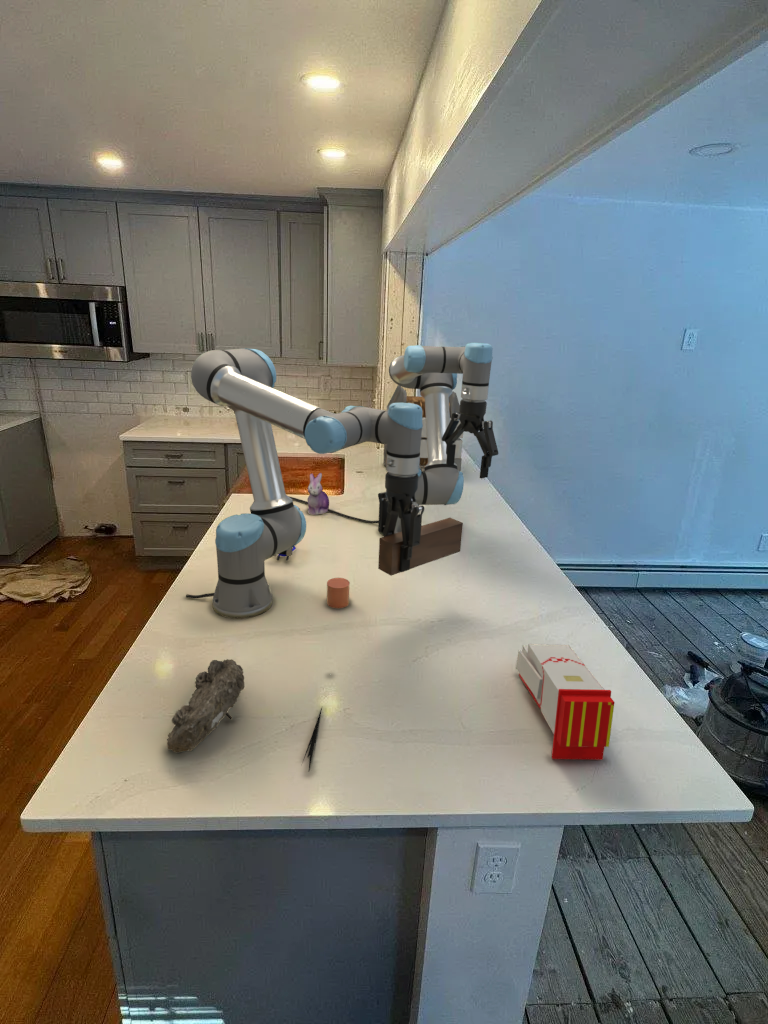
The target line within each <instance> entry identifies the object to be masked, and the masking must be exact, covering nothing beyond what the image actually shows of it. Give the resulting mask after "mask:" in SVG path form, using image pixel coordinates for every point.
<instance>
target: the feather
mask: <svg viewBox="0 0 768 1024" xmlns="http://www.w3.org/2000/svg"><path fill="white" fill-rule="evenodd" d="M329 675H330V676H331V675H332V674H331V673H330V674H329ZM322 710H323V707H321V708H320V710H319V713H318V716H317V719H316V723H315V725H314V728H313V731H312V733H311V737H310V739H309V742H308V745H307V748H306V751H305V754H304V757H303V760H302V763H301V767H302V765H303V763H304V761H305V758H308V759H309V760H308V762H307V763H308V764H307V766H308V771H310V770H311V766H312V765H311V764H312V760H313V757H315V756H314V755H315V751H316V749H315V746H317V739H318V733H319V729H320V722H321V717H322V712H323V711H322ZM313 754H314V755H313ZM306 755H307V757H306Z"/></svg>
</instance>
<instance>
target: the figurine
mask: <svg viewBox="0 0 768 1024" xmlns="http://www.w3.org/2000/svg"><path fill="white" fill-rule="evenodd" d="M322 478H323V473H322V472H319V473H318V474H317V476H316V477H315V476H314V473H310V474H309V484H308V487H307V492H308V497H307V502H308V504H307V513H308V515H313V516H317V515H323V514H326V513H329V512H328V509H330V497H329V496H328V494H327V493H326V492H325V491H323V485H322V484H321V481H322Z"/></svg>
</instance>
